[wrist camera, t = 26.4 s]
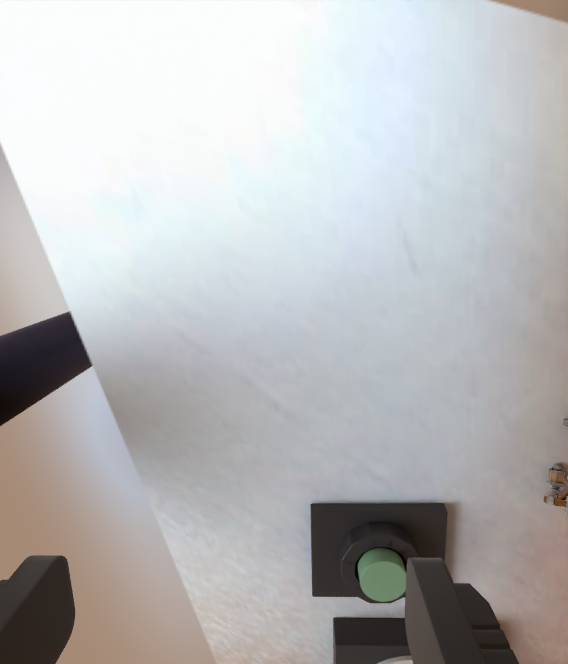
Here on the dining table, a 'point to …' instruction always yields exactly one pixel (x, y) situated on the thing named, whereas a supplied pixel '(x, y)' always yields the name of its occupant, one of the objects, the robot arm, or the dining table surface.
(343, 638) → the scale
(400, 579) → the button
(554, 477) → the wooden post with brackets
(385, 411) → the dining table surface
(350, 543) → the block
